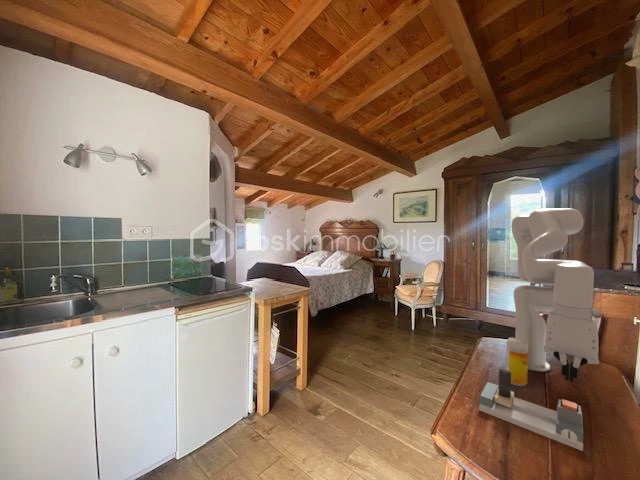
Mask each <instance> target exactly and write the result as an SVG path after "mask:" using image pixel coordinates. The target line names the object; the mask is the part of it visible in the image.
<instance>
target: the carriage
mask: <svg viewBox="0 0 640 480" xmlns="http://www.w3.org/2000/svg"><path fill="white" fill-rule="evenodd" d="M498 386H499V388H498V390H497V392H496V394H495V397H494V402H496V403H499V404H501V405H504V406H507V407H510V408H512V403H513V400H514V397H515V391H512V384H511V372H510V371H508V370H506V368H499V369H498Z"/></svg>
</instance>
